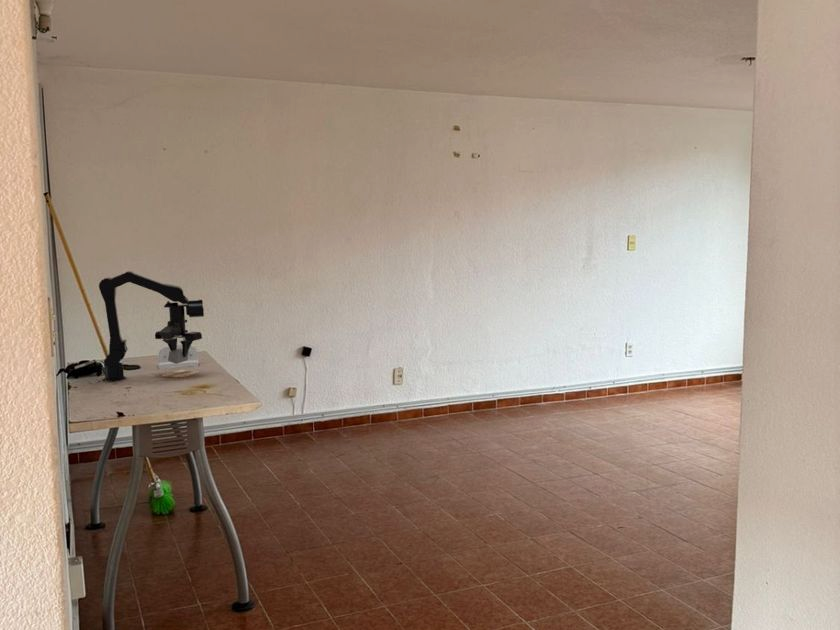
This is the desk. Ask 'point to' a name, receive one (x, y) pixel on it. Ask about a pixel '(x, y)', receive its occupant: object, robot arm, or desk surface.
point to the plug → (177, 356)
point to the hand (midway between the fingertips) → (179, 356)
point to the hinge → (165, 363)
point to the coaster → (180, 373)
